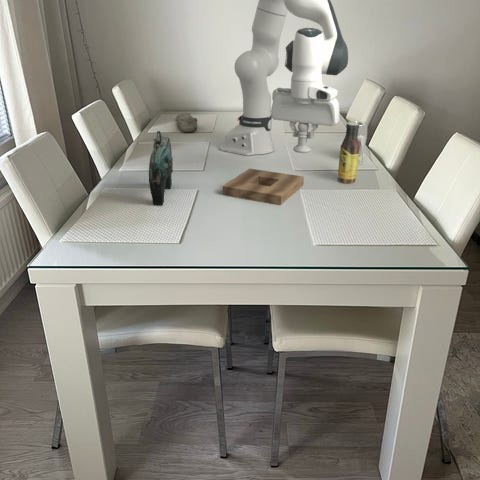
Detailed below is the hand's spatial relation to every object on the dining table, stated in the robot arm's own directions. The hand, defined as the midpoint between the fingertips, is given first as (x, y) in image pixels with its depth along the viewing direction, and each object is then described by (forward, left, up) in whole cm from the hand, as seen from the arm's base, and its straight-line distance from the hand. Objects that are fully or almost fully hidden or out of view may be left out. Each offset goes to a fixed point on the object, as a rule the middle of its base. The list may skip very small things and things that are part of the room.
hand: (303, 137), depth 148 cm
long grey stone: (-85, +68, -19) cm, 111 cm away
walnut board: (-12, 0, -19) cm, 22 cm away
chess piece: (0, 0, -4) cm, 4 cm away
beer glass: (+7, +42, -19) cm, 46 cm away
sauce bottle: (+10, +20, -19) cm, 29 cm away
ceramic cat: (-39, -18, -19) cm, 47 cm away
